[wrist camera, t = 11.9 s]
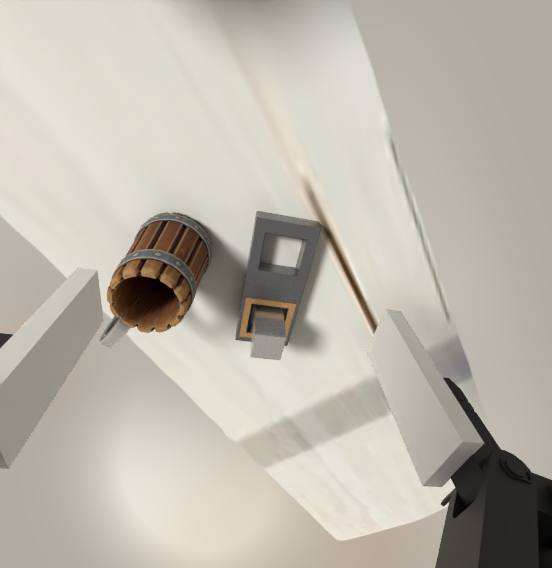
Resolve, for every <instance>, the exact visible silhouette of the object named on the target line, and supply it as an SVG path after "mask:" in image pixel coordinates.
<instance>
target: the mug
mask: <svg viewBox="0 0 552 568" xmlns="http://www.w3.org/2000/svg"><path fill="white" fill-rule="evenodd" d="M211 258H212V247H211V241H210V238H209V236H208V234H207V232H206V231H204V230H203V227H202V226H201V225H200V224H199V223H198V222H197V221H195V220H194V219H189V218H188V217H187V216H186V215H183V214H180V213H172V214H169V213H162V214H159V215H156V216H154V217H153V218H150V219H149V220H148V221H146V222H145V223H144V224H143V225H142V227H141V228H140V230H139V232H138V234H137V235H136V237H135V240H134V243H133V245H132V246H131V248H130V250H129V251H128V253H127V255H126V257H125V258H124V259H122V260H121V262H120V264H119V265H118V267H117V269H116V270H115V272H114V274H113V276H112V280H111V282H110V286H109V288H108V291H107V300H108V302H109V303H111V304H110V309H111V311H112V313H113V314H114V318H113V319H112V321H111V322H110V324H109V325H108V327H107V328H106V330H105V331H104V333H103V335H102V336H101V338H100V340H99V342H100V343H102V344H103V345H105V346H107V347H109V348H113V347H114V346H115V345H116V344H117V343H118V342H119V341H120V340H121V339H122V338H123V337H124V335H125V334H126V333H127V332H128V330H129V329H130V328H133V327H135V326H137V327H138V330H139V331H141V332H147V333H149V332H151V331H153V330H154V329H155V330H156V332H163V331H166V330H168V329H170V328H171V327H172V326H176V325H177V324H178V323H180V322H181V320H182V319H183V317H184V315H185V314H186V312H187V311H188V310H189V309H190V307H191V304H192V302H193V300H194V297H195V294H196V289H197V287H198V285H199V283H200V280H201V278H202V276H203V274H204V273H205V272H206V270H207V268H208V266H209V263H210V260H211Z"/></svg>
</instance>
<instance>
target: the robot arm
mask: <svg viewBox="0 0 552 568" xmlns="http://www.w3.org/2000/svg"><path fill="white" fill-rule="evenodd" d="M102 322H103V314H102V305H101V297H100V288H99V280H98V272H97V270H90V269H82V268H77V269H76V270H75V271H74V272H73V273H72V274H71V275H70V276H69V278H68V279H67V280H66V281H65V282H64V283H63V284H62V285H61V286H60V287H59V288H58V289H57V290H56V291H55V292H54V293H53V294H52V295H51V296H50V297H49V298H48V299H47V300H46V302H44V304H43V305H42V306H41V307H40V308H39V309H38V310H37V311H36V312H35V313H34V314H33V315H32V316H31V317H30V318H29V319H28V320H27V321H26V322H25V323H24V324H23V325H22V327H20V328H19V329H18V331H17V332H16V333H15V334H14V335H12V334H2V333H0V468H10V466H11V464H12V463H13V461H14V460H15V458H16V457H17V455H18V453H19V452H20V450H21V449H22V447H23V446H24V444H25V443H26V441H27V439H28V438H29V436H30V435H31V433H32V432H33V430H34V428H35V427H36V425H37V424H38V422H39V421H40V419H41V418H42V416H43V414H44V413H45V411H46V410H47V408H48V407H49V405H50V403H51V402H52V400H53V399H54V397H55V396H56V394H57V393H58V391H59V389H60V388H61V386H62V385H63V383H64V382H65V380H66V378H67V377H68V375H69V373H70V372H71V371H72V369H73V367H74V366H75V364H76V363H77V361H78V360H79V358H80V357H81V355H82V353H83V352H84V350H85V349H86V347H87V346H88V344H89V343H90V341H91V339H92V338H93V336H94V335H95V333H96V332H97V330H98V329H99V327H100V325H101V324H102ZM366 351H367V353H368V356H369V358H370V360H371V363H372V365H373V368H374V370H375V373H376V375H377V377H378V380H379V382H380V385H381V387H382V389H383V392H384V394H385V397H386V399H387V401H388V404H389V406H390V409H391V411H392V414H393V416H394V418H395V421H396V423H397V426H398V428H399V430H400V433H401V435H402V438H403V440H404V443H405V445H406V447H407V450H408V452H409V455H410V457H411V459H412V462H413V464H414V467H415V469H416V471H417V474H418V476H419V479H420V481H421V484H422V486H433V487H442V486H443V485H444V484H445V483H446V482H447V481H448V480H449V479H450V478H451V479H452V481H453V483H454V485H455V487H456V488H455V489H454V490H453V491H452V492H451V493H450V494H448V495H447V496H446V497H445V498H444V499H443V501H442V503H441V505H442V506H445V505H446V504H447V503H448V502H449V506H448V511H447V516H446V520H445V525H444V530H443V534H442V539H441V544H440V548H439V553H438V558H437V562H436V567H435V568H552V480H550V479H547V478H544V477H542V476H539V475H537V474H534V473H531V471H530V469H529V468H528V467H527V466H526V465H525V464H524V463H523V462H522V461H521V460H519V458H517V457H516V456H514V455H513V454H511V453H509V452H507V451H505V450H501V449H500V448H499V446H498V445H497V444H496V442H495V440H494V439H493V437H492V436H491V434H490V433H489V431H488V430H487V428H486V427H485V425H484V424H483V422H482V421H481V419H480V418H479V416H478V415H477V413H476V412H474V409H473V407H472V406H471V404H470V403H468V400H467V398H466V397H465V395H464V394H463V392H462V391H461V389H460V388H459V387H458V386H457V385H456V384H455V383H453V382H452V381H451V380H450V379H449V378H443V377H442V376H441V374H440V373H439V371H438V369H437V368H436V366H435V365H434V363H433V361H432V360H431V358H430V357H429V355H428V354H427V352H426V350H425V349H424V347H423V346H422V344H421V343H420V341H419V339H418V338H417V336H416V335H415V333H414V332H413V330H412V328H411V327H410V325H409V324H408V322H407V321H406V319H405V317H404V316H403V314H402V313H401V311H394V310H386V311H385V313H384V315H383V317H382V319H381V321H380V323H379V325H378V327H377V329H376V331H375V334H374V336H373V338H372V340H371V342H370V344H369V346H368V348H367V350H366Z"/></svg>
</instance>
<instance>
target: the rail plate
mask: <svg viewBox="0 0 552 568" xmlns="http://www.w3.org/2000/svg"><path fill="white" fill-rule="evenodd" d="M320 231H321V226H320V224H319V222H317V221H312V220H306V219H300V218H295V217H289V216H283V215H277V214H272V213H266V212H260V211H257V212H256V218H255V224H254V230H253V236H252V242H251V247H250V253H249V259H248V265H247V271H246V277H245V282H244V288H243V294H242V300H241V306H240V312H239V317H238V323H237V329H236V340H241V341H250V342H251V323H248V320H249V314H250V309H251V304H259V305H266V306H274V307H282V308H285V310H284V323H285V331H286V341H285V344H284V345H285V346H287V345H288V341H289V338H290V334H291V331H292V327H293V324H294V320H295V317H296V314H297V310H298V307H299V303H300V300H301V296H302V293H303V289H304V286H305V283H306V279H307V276H308V272H309V269H310V265H311V262H312V258H313V255H314V251H315V248H316V245H317V241H318V238H319V234H320ZM265 233H270V234H276V235H282V236H288V237H294V238H301V239H303V242H302V245H301V249H300V253H299V257H298V261H297V264H296V268H293V267H286V266H280V265H273V264H266V263H260V257H261V252H262V246H263V241H264V236H265Z"/></svg>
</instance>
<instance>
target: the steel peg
mask: <svg viewBox="0 0 552 568" xmlns="http://www.w3.org/2000/svg"><path fill="white" fill-rule="evenodd" d="M285 341H286V331H285V323H284V314H283V308H282V307H274V306H266V305H259V304H254V308H253V313H252V318H251V354H250V357H254V358H264V359H274V360H280V359H281V355H282V351H283V348H284V344H285Z"/></svg>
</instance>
